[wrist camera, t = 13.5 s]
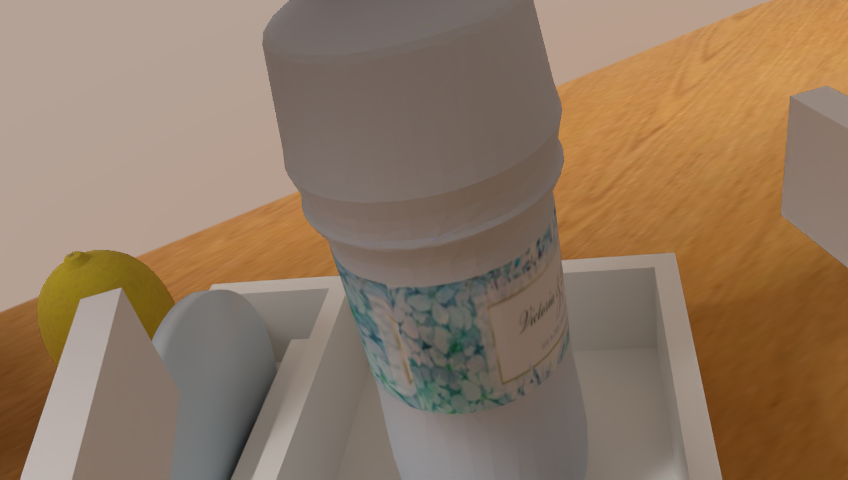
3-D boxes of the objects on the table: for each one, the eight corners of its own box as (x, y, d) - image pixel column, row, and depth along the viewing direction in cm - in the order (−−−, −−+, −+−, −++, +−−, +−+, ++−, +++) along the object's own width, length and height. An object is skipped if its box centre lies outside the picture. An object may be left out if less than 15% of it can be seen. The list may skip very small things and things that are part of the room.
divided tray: (101, 689, 23) (-63, 513, 18) (252, 370, 34) (177, 206, 29) (745, 742, 18) (766, 528, 13) (675, 354, 30) (673, 158, 25)
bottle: (563, 604, 21) (431, -167, 10) (369, 535, 24) (105, -109, 13) (622, 429, 26) (576, -231, 15) (452, 390, 29) (308, -177, 18)
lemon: (170, 334, 38) (102, 206, 34) (228, 375, 34) (160, 237, 30) (72, 402, 35) (-16, 271, 31) (124, 454, 31) (32, 315, 27)
